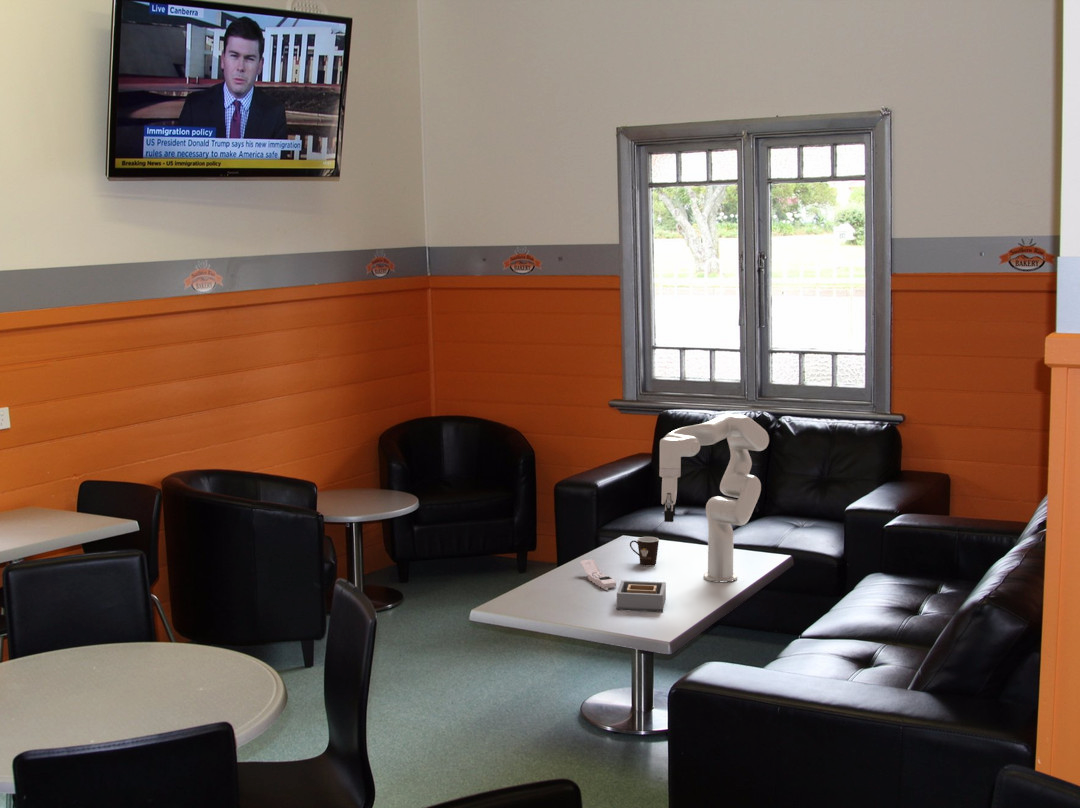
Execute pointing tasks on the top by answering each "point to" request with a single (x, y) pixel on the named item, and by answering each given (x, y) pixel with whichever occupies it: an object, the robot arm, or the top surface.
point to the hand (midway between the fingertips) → (669, 518)
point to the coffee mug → (647, 550)
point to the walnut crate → (642, 589)
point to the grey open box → (641, 597)
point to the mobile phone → (597, 575)
